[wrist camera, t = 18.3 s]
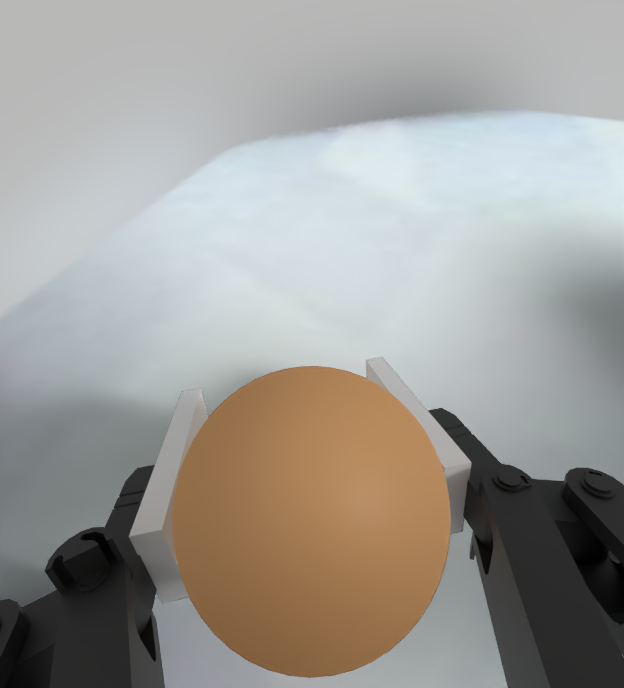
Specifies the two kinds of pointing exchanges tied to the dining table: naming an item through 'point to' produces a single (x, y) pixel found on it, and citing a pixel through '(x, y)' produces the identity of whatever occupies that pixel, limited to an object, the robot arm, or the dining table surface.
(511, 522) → the robot arm
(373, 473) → the tan dome-topped cylinder
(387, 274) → the dining table surface
